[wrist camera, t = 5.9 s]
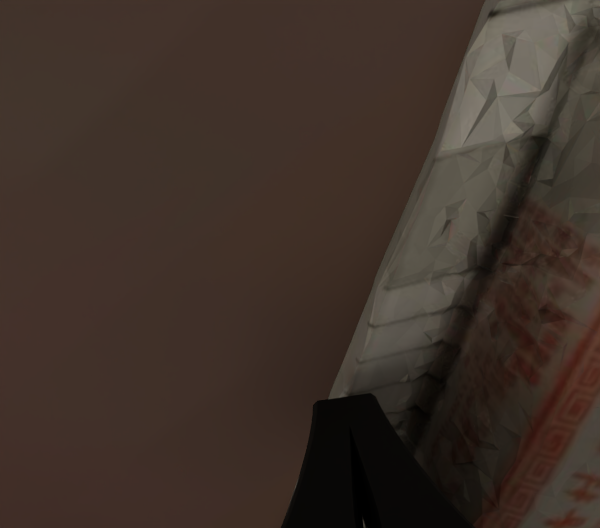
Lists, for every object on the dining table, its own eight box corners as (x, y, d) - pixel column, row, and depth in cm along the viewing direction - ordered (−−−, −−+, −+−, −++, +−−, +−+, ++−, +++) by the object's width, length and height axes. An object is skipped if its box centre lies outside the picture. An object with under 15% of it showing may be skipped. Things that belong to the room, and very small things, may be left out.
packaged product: (644, -85, 5) (1298, 160, 7) (474, -33, 10) (892, 107, 11) (249, 773, 12) (609, 798, 14) (256, 577, 17) (528, 612, 18)
